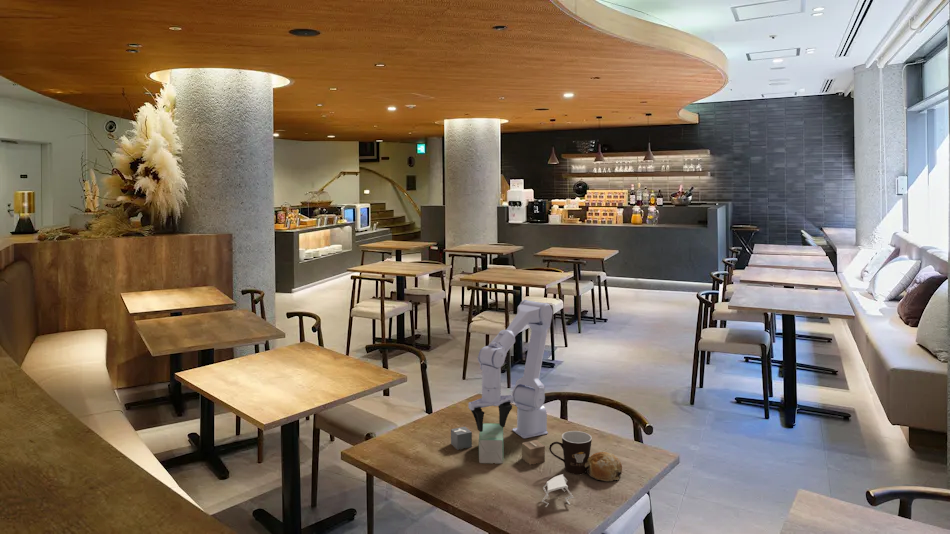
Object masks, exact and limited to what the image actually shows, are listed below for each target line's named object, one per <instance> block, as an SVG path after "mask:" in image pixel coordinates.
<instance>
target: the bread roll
mask: <svg viewBox="0 0 950 534" xmlns="http://www.w3.org/2000/svg"><path fill="white" fill-rule="evenodd" d="M622 465H623V463H621V461H620V458H618V457H617V456H615V454H614V453H611V452H607V451H601V452H595V453H593V454H591V455H590V456H589V458H588V460H587V463H586V464H585V468H586V470H587V472H586V473H587V474H588V475H589V476H590V477H591V478H593V479H594V480H596V481H602V482H603V481H604V482H614V481H613V480H617V481H618V480H620V477H621V476H622V473H623V466H622Z"/></svg>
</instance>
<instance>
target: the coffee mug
mask: <svg viewBox="0 0 950 534" xmlns="http://www.w3.org/2000/svg"><path fill="white" fill-rule="evenodd" d="M561 440H562V441H561V442H560V441H554V442H552V443H550V445H549V447H548V449H549V452H550V453H551V455H552V456H554V457H555V458H557V459H558V460H560V461H562V462H563V463H564V470H565V472H567V473H569V474H571V475H576V476H579V475H580V474H581V475H585V474H586V473H587V470H586V468H585V464H586V463H587V460H588V458H589V457H590V456H591V455H590V453H591V448H592V440H593V438H592V435H591V434H589V433H588V432H585V431H580V430H569V431H565V432H563V433H562V434H561ZM554 445H559V446H560V447H561V449H562V452H563V458H562V457H560V456H559V455H557V454H555V453H554V451H552V447H553V446H554ZM584 473H585V474H584Z"/></svg>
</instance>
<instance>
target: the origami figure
mask: <svg viewBox="0 0 950 534" xmlns="http://www.w3.org/2000/svg"><path fill="white" fill-rule="evenodd" d="M567 483H568V479H567V478H566V477H565V476H564V473H563V474H559V475H556V476H554V477H552V478H551V479H549V480H548V481H546V482H545V485H543V486H542V489H543V491H544V493H545V495H544V497H543V498H542V499H541V502H542V503H545V504H546V505H545V506H544V507H545V508H547V507H548V505H550V503H549V502H547V501H545V500H548V498H549V493H552V492H554V491H557V490H561V491H563V492H564V493H566V492H567V493H568V494H569V496H567V497H565V498H564V500H565V502H566V503H567V504H568V505H571V503H570V502H569V500H571V499H574V495H573V494H572V492H571V491H570V490H569V486H568V485H567ZM546 488H547V489H546ZM565 491H566V492H565Z"/></svg>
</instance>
